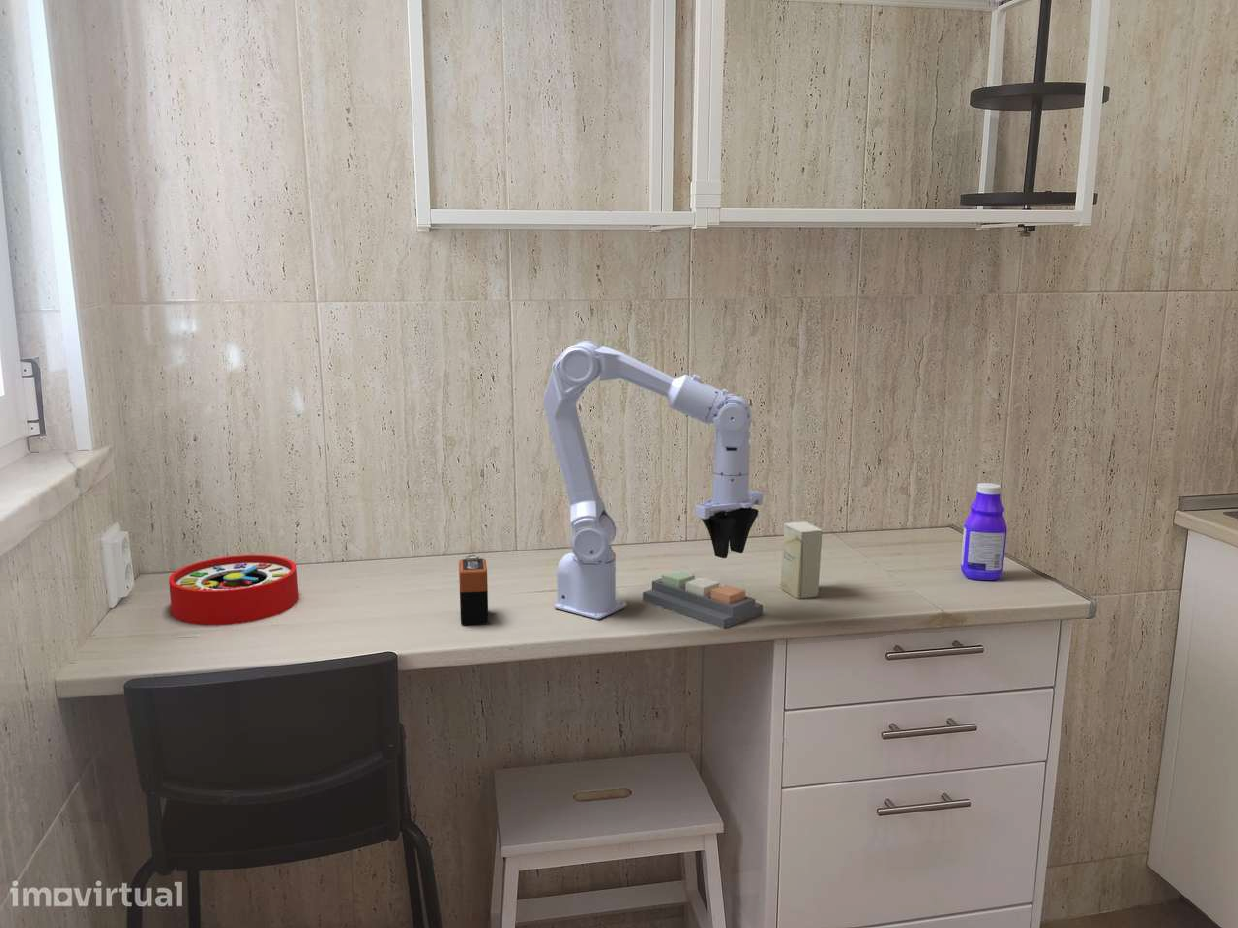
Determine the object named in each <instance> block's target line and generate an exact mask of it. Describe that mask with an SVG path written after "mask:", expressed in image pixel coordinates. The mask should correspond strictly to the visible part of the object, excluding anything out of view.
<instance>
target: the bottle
mask: <svg viewBox="0 0 1238 928" xmlns="http://www.w3.org/2000/svg"><path fill="white" fill-rule="evenodd" d="M1001 494H1002V485H1000V484H998V483H992V482H991V483H990V482H980V483H977V487H976V495H975V499H974V501H973V502H972V504H971V505H970V510H971V512H970V514H969V515H968V517H967V518H966V520H965V522H964V526H963V535H962V536H963V537H962V545H961V546H962V547H961V549H962V550H961V558H960V568H961V572H962V574H963V576H965V577H966V578H968V579H971V580H981V581H982V580H983V581H996V580H998V579H1000V577H1001V576H1002V573H1003V570H1004V561H1005V560H1004V558H1005V552H1006V551H1005V550H1006V549H1005V548H1006V539H1007V531H1008V528H1007V527H1008V526H1007V523H1006V521H1005V518H1004V515H1003V513H1005V508H1004V505H1003V504H1002V499H1001V498H1002V497H1001V496H1002V495H1001Z"/></svg>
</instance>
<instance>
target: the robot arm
mask: <svg viewBox="0 0 1238 928" xmlns="http://www.w3.org/2000/svg"><path fill="white" fill-rule="evenodd" d="M551 367H552V368H551V372H550V373H551V374H550V377H549V380H548V383H547V386H546V389H545V392H544V395H543V399H542V400H543V401H542V402H543V406H544V410H545V414H546V415H545V416H546V419H547V422H548V425H549V430H550V434H551V438H552V441H553V445H554V449H555V453H556V456H557V459H558V464H559V467H560V468H559V469H560V471H561V475H562V479H563V481H564V486H565V490H566V494H567V497H568V502H569V504H570V525H571V530H572V534H571V537H570V538H571V539H570V549H571V552H568V553H566V554H564V555H562V557H561V559H560V561H559V563H558V566H557V572H556V573H557V574H556V576H557V577H556V578H557V580H556V581H557V593H556V594H557V603H556V604H554V608H555V609H558V610H561V611H565V612H570V613H573V614H578V615H581V616H584V617H589V618H592V619H595V620H600V619H603V618H605V617H606V616H609V615H611V614H613V613H615V612H617V611H620V610H621V609H624V608H626V607H627V603H625V602H622V601H617V595H616V594H617V593H616V592H617V588H616V587H617V585H616V584H617V583H616V582H617V581H616V578H617V573H616V572H617V568H616V567H617V563H616V561H617V559H616V557H617V555H616V554H617V553H616V552H615V551H614V550H613V547H612V546H611V544H612V542H614V540H615V538H616V535H617V525H616V523H615V521H614V519H613V518H612V517H611V516H610V515H609V513H608V511H607V509H606V504H605V503H604V501H603V499H602V498H601V496H600V494H599V489H598V485H597V482H596V477H595V474H594V471H593V467H592V463H591V459H590V456H589V450H588V447H587V445H586V444H587V443H586V439H585V435H584V432H583V429H582V425H581V424H582V423H581V421H580V418H579V417H580V416H579V413H578V409H577V405H576V404H577V403H578V401H579V400H580V398H581V396H582V394H583V393H584V391H586V387H587V386H589V385H590V384H591V383H592V382H594V381H595V380H596V379H597V378H599V381H601V382H603V381H609V380H611V381H612V380H618V379H621V380H624V381H627V382H629V383H631V384H633V385H636V386H639V387H640V388H643V389H646V390H648V391H651V392H653V393H656V394H658V395H661V396H663V397H666V398H667V400H668V403H669V405H670V407H671V409H673V410H675V411H678V412H679V413H681V414H684V415H686V416H688V417H690V418H693V419H695V420H697V421H698V422H699V421H700V422H702V423H705V424H708V425H709V424H713V426H714V428H715V442H714V443H713V459H712V460H713V465H712V467H713V468H712V470H713V471H712V497H710V498H709V499H706V500H705V501H704V502H702V503H700V504H696V505H695V518H697V519H701V520H702V522H703V523H704V526H705V528H706V529H707V531H708V534H709V537H710V540H711V544H712V548H713V553H714V556H715V557H717V558H721V559H727V558H728V555H729V549H730V552H733V553H738V554H742V553H744V550H745V547H746V543H747V539H748V536H749V533H750V531H751V529H752V527H753V524H754V523H755V521H756V520H757V518H758V516H759V509H757V508H752V507H753V506H755V505H757V506H761V505H763V504H764V492H761V491H756V490H752V491H750V490H749V488H750V460H751V459H750V458H751V445H750V444H751V443H750V442H749V441H750V438H751V437H750V436H751V435H750V434H751V433H750V430H749V429H750V427H751V426H752V422H753V419H752V411H751V407H750V404H749V402H748V401H746V399H744V398H743V397H741V395H739V394H736V393H729V392H730V390H728V389H726V388H723V389H722V390H721V389H719V388H717V387H714V386H712V385H710V384H707V383H705V382H703V381H701V380H702V377H701V376H699V375H697V374H693V376H690V375H688V374H684V375H681V376H680V377H677V378H676V377H672V376H670V375H668V374H666V373H665V372H662V371H660V370H659V369H656V368H654V367H652V366H651V365H648V364H646V363H644V362H642V361H640V360H638V359H636V358H635V357H632V356H630V355H627V354H626V353H623V352H621V351H618V350H616V349H613V348H611V347H608V346H603V345H602V346H600V345H599V344H597V343H596V342H593V341H589V340H586V341H585V340H583V341H580V342H577V343H576V344H574V345H572V346H569V347H567V348H566V349H564V350H563V352H561V353H560V355H559V356H558V357H557V359H556V360H555V361H554V363H553V364H552V366H551Z"/></svg>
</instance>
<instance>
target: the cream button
mask: <svg viewBox="0 0 1238 928" xmlns="http://www.w3.org/2000/svg"><path fill="white" fill-rule="evenodd" d="M718 587H720V582H718V581H715V580H712V579H709V578H706V577H703V576H701V577H698V578H695V579H694V580H691V581H688V582H686V584H685V591H688V592H691V593H694V594H697V595H701V596H707V595H709V594H710V592H711V590H712V589H715V588H718Z"/></svg>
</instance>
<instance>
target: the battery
mask: <svg viewBox="0 0 1238 928" xmlns="http://www.w3.org/2000/svg"><path fill="white" fill-rule="evenodd" d="M487 568H488V567H487V560H486V559H485V558H482V557H481V558H480V556H479V555H477V554H467V555H466V556H465V558H464V559H463V558H461V559H460V560H459V562H458V573H459V574H458V575H459V576H458V577H459V603H460V604H459V605H460V606H459V608H460V623H461V625H462V626H478V625H480V626H481V625H486V624H489V594H488V593H489V591H488V589H489V587H488V569H487Z"/></svg>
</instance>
